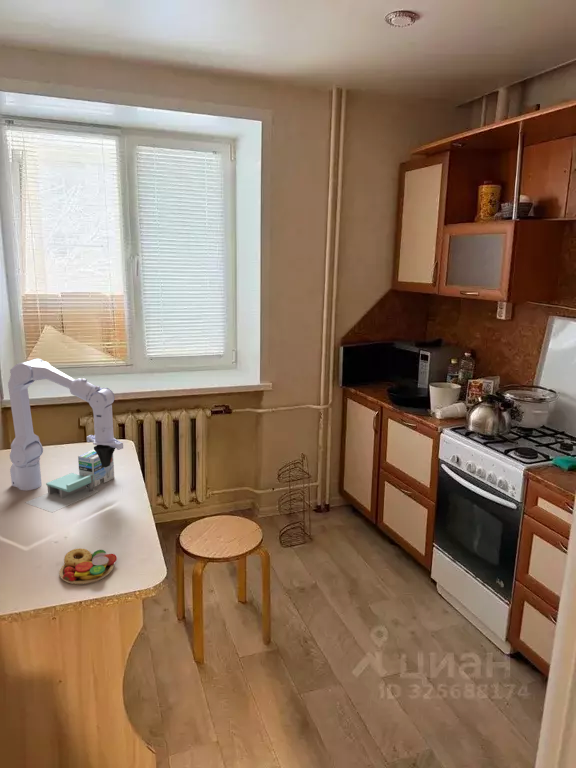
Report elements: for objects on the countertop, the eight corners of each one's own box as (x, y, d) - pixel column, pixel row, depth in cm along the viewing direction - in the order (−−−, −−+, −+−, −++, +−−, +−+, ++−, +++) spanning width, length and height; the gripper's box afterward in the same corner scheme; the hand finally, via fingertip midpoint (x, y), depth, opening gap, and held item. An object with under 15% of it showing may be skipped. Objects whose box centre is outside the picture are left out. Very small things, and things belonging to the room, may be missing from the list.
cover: (46, 485, 175) (45, 478, 174) (72, 474, 184) (71, 468, 183) (69, 492, 170) (68, 485, 169) (94, 481, 179) (94, 474, 178)
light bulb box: (95, 489, 182) (93, 458, 180) (79, 485, 185) (76, 456, 182) (115, 477, 192) (113, 448, 190) (99, 474, 194) (97, 446, 192)
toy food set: (69, 558, 141) (68, 546, 140) (120, 556, 142) (120, 545, 142) (52, 588, 128) (51, 576, 127) (109, 586, 129) (108, 574, 129)
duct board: (24, 504, 170) (23, 493, 169) (72, 485, 185) (71, 474, 184) (52, 514, 163) (51, 503, 163) (99, 493, 179) (98, 482, 178)
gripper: (77, 425, 173) (80, 465, 176) (110, 433, 166) (112, 474, 169) (95, 420, 179) (97, 459, 182) (127, 427, 172) (129, 467, 175)
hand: (106, 466), depth 176 cm, fingers closed
